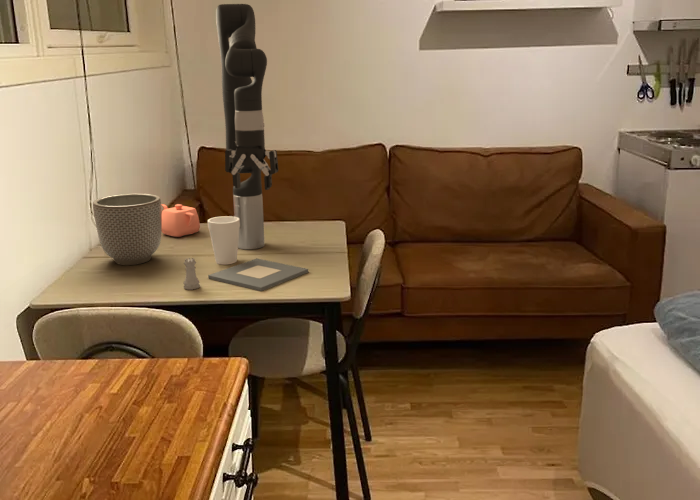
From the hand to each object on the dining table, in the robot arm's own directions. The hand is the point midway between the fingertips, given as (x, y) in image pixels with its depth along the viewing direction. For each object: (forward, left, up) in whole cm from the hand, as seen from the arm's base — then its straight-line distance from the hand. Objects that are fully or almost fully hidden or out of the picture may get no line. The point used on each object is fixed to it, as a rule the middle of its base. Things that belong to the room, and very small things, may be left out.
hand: (252, 188), depth 196 cm
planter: (-46, -6, -26) cm, 53 cm away
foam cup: (-21, +9, -26) cm, 35 cm away
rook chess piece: (-11, -14, -26) cm, 32 cm away
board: (-3, +4, -26) cm, 26 cm away
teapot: (-60, +25, -26) cm, 70 cm away
